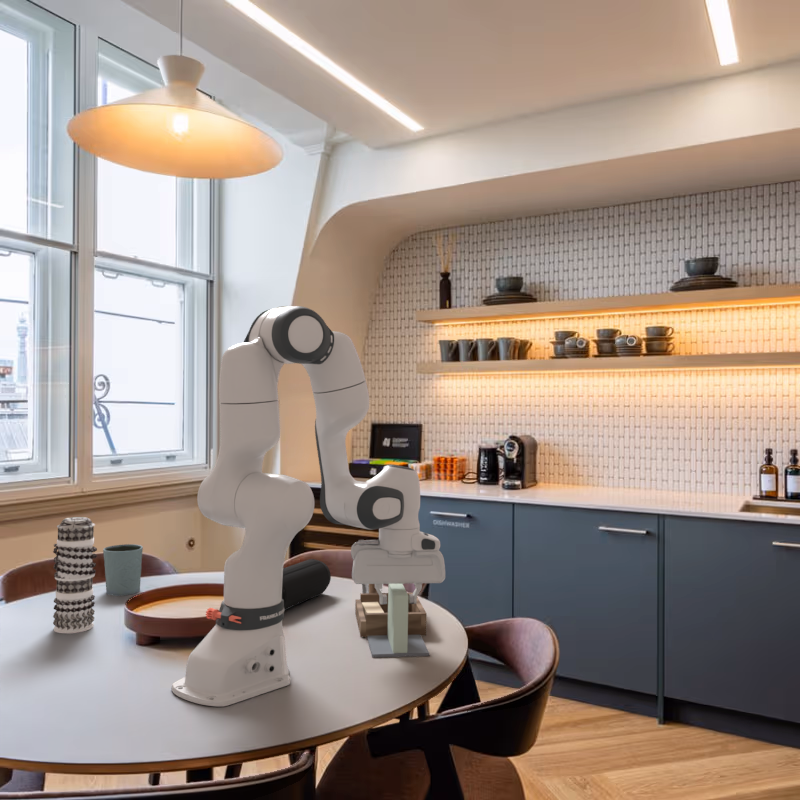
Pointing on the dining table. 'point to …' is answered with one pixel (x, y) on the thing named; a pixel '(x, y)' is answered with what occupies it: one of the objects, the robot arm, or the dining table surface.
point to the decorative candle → (74, 576)
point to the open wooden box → (379, 621)
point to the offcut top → (371, 608)
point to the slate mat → (383, 648)
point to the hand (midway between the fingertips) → (397, 603)
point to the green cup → (123, 569)
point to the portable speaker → (304, 581)
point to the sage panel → (397, 618)
